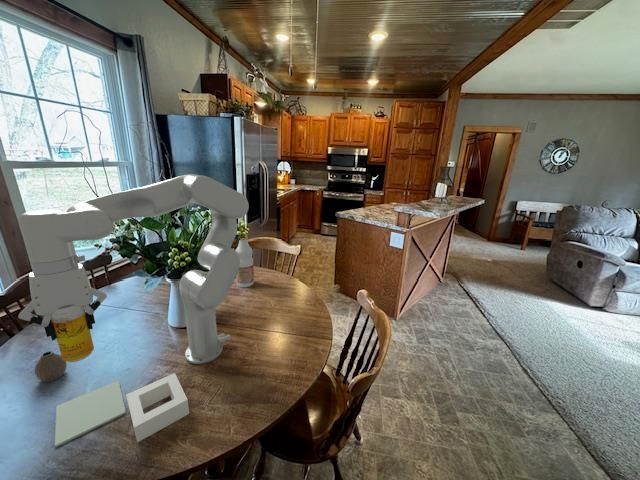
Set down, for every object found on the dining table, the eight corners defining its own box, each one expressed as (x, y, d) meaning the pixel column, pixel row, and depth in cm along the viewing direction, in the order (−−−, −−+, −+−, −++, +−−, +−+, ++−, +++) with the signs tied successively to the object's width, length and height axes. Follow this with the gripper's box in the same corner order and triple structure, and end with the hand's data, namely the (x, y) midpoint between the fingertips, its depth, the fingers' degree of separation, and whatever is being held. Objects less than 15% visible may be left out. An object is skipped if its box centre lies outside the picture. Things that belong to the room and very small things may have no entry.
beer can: (57, 365, 64) (41, 311, 60) (71, 349, 70) (57, 298, 66) (87, 361, 66) (73, 308, 62) (99, 345, 72) (87, 295, 67)
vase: (74, 368, 87) (68, 346, 85) (55, 385, 81) (47, 362, 78) (52, 368, 87) (45, 346, 84) (31, 385, 80) (23, 361, 78)
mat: (119, 381, 83) (118, 380, 83) (125, 413, 73) (125, 411, 73) (56, 407, 74) (56, 405, 74) (55, 447, 64) (54, 445, 64)
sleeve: (176, 385, 82) (174, 372, 81) (189, 413, 74) (187, 399, 72) (129, 408, 75) (126, 394, 73) (137, 442, 66) (133, 427, 65)
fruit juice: (233, 283, 150) (230, 235, 142) (248, 278, 156) (246, 233, 148) (242, 289, 144) (239, 240, 135) (257, 284, 150) (255, 236, 142)
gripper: (101, 252, 69) (114, 313, 74) (0, 268, 58) (23, 338, 63) (105, 261, 64) (118, 325, 69) (-6, 280, 53) (20, 355, 58)
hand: (72, 331), depth 66 cm, fingers closed on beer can, 6 cm apart
